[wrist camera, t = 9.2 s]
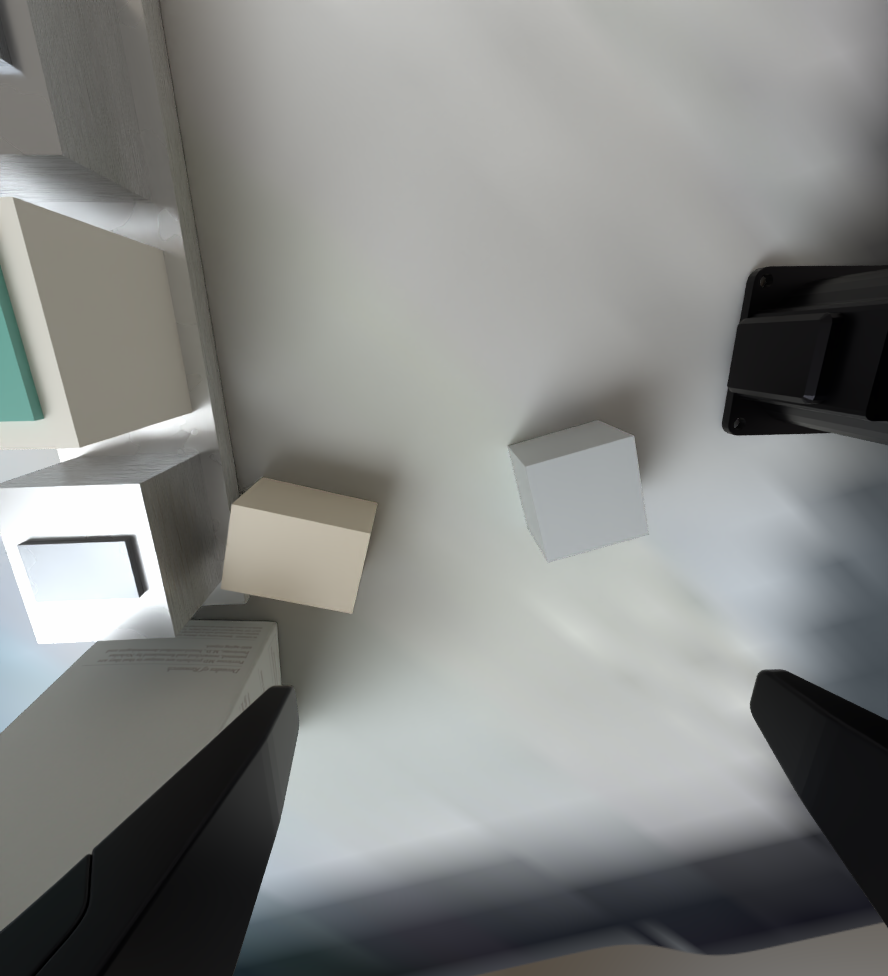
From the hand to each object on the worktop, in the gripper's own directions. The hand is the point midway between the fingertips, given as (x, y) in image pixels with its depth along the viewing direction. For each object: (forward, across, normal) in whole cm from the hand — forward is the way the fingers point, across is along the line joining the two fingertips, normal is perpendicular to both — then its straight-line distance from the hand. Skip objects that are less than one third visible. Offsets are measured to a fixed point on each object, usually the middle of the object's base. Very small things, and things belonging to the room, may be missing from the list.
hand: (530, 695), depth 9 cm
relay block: (+12, -4, -1) cm, 13 cm away
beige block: (+12, +7, +1) cm, 14 cm away
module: (+11, +13, -7) cm, 18 cm away
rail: (+12, +13, -6) cm, 19 cm away
